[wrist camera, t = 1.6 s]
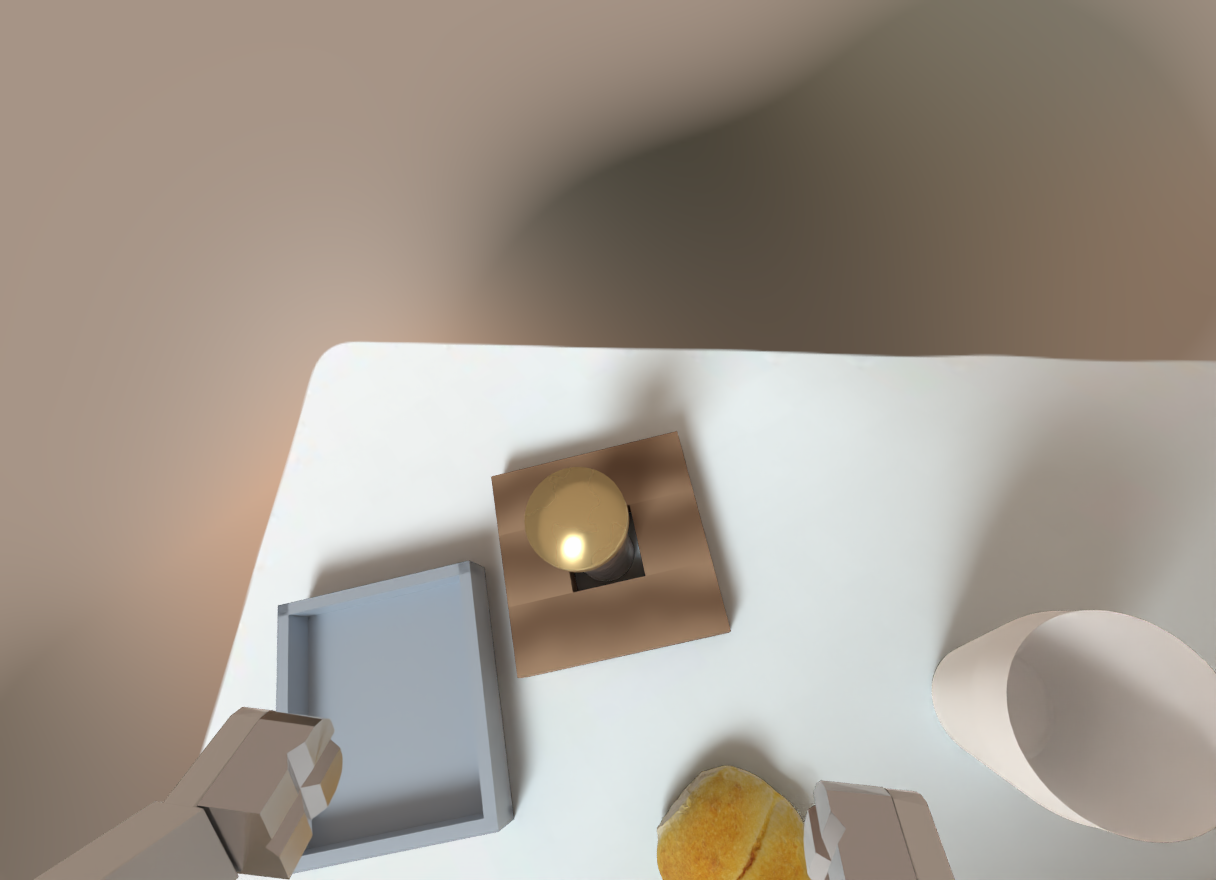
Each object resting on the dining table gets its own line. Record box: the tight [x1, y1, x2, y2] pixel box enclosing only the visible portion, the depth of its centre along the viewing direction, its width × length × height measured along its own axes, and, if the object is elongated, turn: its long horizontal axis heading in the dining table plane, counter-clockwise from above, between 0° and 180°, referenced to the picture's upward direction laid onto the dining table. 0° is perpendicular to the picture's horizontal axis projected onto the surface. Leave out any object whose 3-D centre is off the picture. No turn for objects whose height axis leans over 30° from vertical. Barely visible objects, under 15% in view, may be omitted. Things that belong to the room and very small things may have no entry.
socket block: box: [491, 431, 731, 678], centre depth 41 cm, size 14×14×2 cm
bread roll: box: [657, 766, 811, 880], centre depth 33 cm, size 8×9×4 cm
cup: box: [932, 610, 1216, 843], centre depth 30 cm, size 9×9×12 cm
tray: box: [276, 561, 514, 874], centre depth 39 cm, size 16×14×3 cm
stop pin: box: [524, 467, 634, 582], centre depth 37 cm, size 6×6×11 cm
